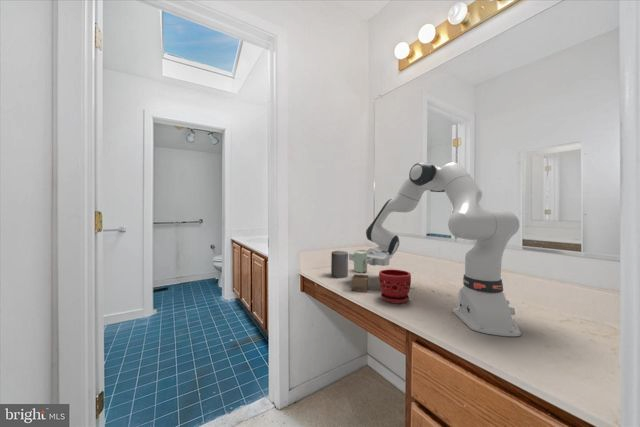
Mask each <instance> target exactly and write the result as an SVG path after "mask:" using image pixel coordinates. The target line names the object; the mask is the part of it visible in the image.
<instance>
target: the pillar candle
mask: <svg viewBox="0 0 640 427" xmlns="http://www.w3.org/2000/svg"><path fill="white" fill-rule="evenodd" d="M330 257H331V260H330V261H331V262H330V263H331V264H330V266H331V267H330V275H331V277H332V278H336V279H345V278H347V277H348V276H349V271H348V270H349V252H348V251H344V250H340V249H339V250H333V251H331V256H330Z"/></svg>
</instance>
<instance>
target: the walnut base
mask: <svg viewBox="0 0 640 427" xmlns="http://www.w3.org/2000/svg"><path fill="white" fill-rule="evenodd" d="M351 279H352V280H351V284H352V285H351V286H352V287H351V291H353V292H362V293H363V292H364V293H367V292H368V290H369V281H370V280H369V274H368V275H365V274H353V276H352V277H351Z"/></svg>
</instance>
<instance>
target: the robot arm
mask: <svg viewBox="0 0 640 427" xmlns="http://www.w3.org/2000/svg"><path fill="white" fill-rule="evenodd" d="M409 170H410V171H409V175H408V176H407V177H406V179H405V180H404V181H403V183H402V184H401V185H400V188H399V190H398V192H397V194H396V196H394V197H393V198H390V199H388V200H387V201H386V202H385V203H384V205H383V206H382V207H381V209H380V210H379V212H378V213H377V215H376V216H375V218H374V220H373V221H372V222H371V223H370V225H369V226H368V227H367V229H366V231H365V236H366V239H367V240H368V241H370V242H372V243H375V245H377V247H372V248H369V249H366V250H367V251H366V252H367V259H365V260H364V263H365V264H367V265H370V266H380V267H381V266H383V267H385V266H390V260H391V259H392V258H393V257H394V255H395V253H396V252H397V250H398V248H399V246H400V238H399V236H398V235H397V234H395V233H394V232H391V231H390V230H389V229H387V228H384V226H383V224H384V222H385V221H386V219H387V218H388V216H389V215H390V214H391V213H405V214H406V213H411V212H412V211H414V210H415V209H416V208H417V206H418V205H419V202H420V200H421V198H422V196H423V194H424V193H425V192H426V191H430V192H432V193H433V192H434V193H445V194H446V195H447V196H446V197H447V198H448V199H449V202H450V203H451V205H452V209H453V212H452V213H451V215H450V217H449V218H448V221H447V222H448V224H447V226H448V230H449V232H450V233H451V235H452V236H453V237H455V238H457V239H461V240H468V241H475V240H476V241H475V243H474V245H473V246H472V248H471V249H469V250H468V251H467V252H466V254H465V257H464V258H465V259H464V260H465V261H464V274H463V279H462V282H463V283H462V284H463V286H462V287H461V288H460V289H459V290H458V297H457V307H454V308H453V309H452V312H453V313H454V314H455V315H456V316H457V317H458V318H459V320H461V321H462V322H463V323H464V324H465V325H466V326H467V327H468V328H470V330H473V331H475V332H479V333H482V334H488V335H492V336H502V337H520V336H521V335H522V334H521V333H522V332H521V330H520V329H519V328H520V327H518V325H517V323H516V321H515V319H514V317H513V316H514V315H515V314H516V309H515V307H510V306H509V305H510V300H508V299H507V298H506V295H505V293H504V284H503V280H502V277H501V276H502V259H503V256H504V252H505V250H506V247H507V245H508V243H509V241H511V239H512V238H513V237H514V236H515V235H516V234H517V233H518V231H519V229H520V219H519V218H518V216H517V215H516V213H513V212H512V211H507V210H504V209H498V208H497V209H495V208H494V209H493V208H492V209H485V208H483V207H481V205H480V204H479V202H481V199H482V196H483V192H482V190H481V189H480V187H479V185H478V184H477V183H476V181H475V180H474V178H473V177H472V176H471V174H470V173H469V172H468V171H467V170H466V168H464V166H462V165H461V164H460V163H458V162H454V161H453V162H448V163H446V164H444V165H443V166H438V165H434V164H431V163H429V162H424V161H423V162H421V161H420V162H419V161H418V162H416V163H415V164H413V165H412V166H411V168H410V169H409ZM354 252H355V251H354ZM354 252H348V261H352V262H354Z"/></svg>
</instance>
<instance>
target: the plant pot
mask: <svg viewBox="0 0 640 427" xmlns="http://www.w3.org/2000/svg"><path fill="white" fill-rule="evenodd" d="M378 274H379V275H378V280H379V287H380V290H381V294H380V297H381V298H382V300H383V301H386V302H388V303H392V304H404V303H407V302H408V301H409V299H410V296H409V295H408V294H409V292H410V290H411V289H410V287H411V285H412V275H411V273H410V272H409V271H406V270H401V269H382V270H380V271H379V272H378Z"/></svg>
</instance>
